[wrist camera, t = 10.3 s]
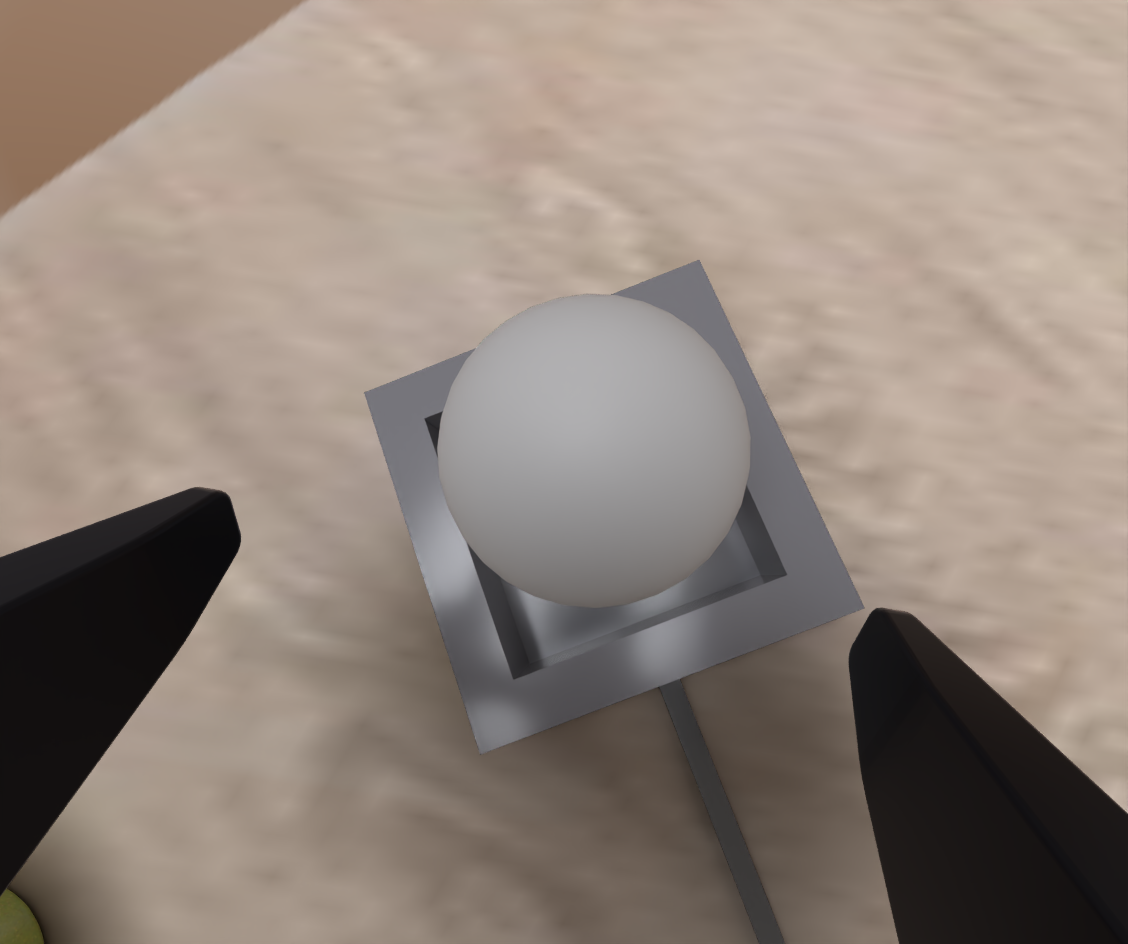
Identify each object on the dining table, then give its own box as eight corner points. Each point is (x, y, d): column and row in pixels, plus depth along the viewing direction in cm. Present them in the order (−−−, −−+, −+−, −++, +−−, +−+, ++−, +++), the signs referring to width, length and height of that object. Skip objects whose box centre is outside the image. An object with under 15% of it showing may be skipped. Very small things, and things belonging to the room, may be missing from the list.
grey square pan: (972, 902, 17) (1071, 993, 13) (596, 1040, 17) (590, 1168, 14) (692, 298, 21) (707, 239, 18) (391, 417, 22) (344, 384, 18)
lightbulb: (727, 526, 19) (886, 452, 8) (575, 635, 19) (533, 705, 8) (618, 384, 20) (631, 156, 9) (474, 483, 20) (317, 365, 9)
